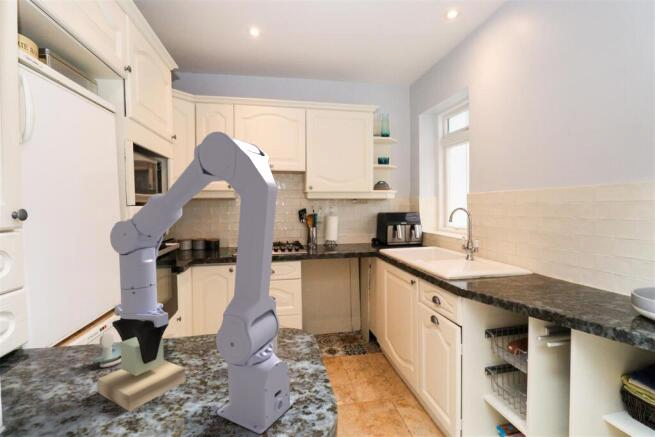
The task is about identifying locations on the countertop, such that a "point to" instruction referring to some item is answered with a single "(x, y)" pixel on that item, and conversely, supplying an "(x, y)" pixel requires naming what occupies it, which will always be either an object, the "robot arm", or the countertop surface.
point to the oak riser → (140, 384)
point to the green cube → (137, 357)
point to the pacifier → (108, 351)
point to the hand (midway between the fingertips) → (141, 358)
